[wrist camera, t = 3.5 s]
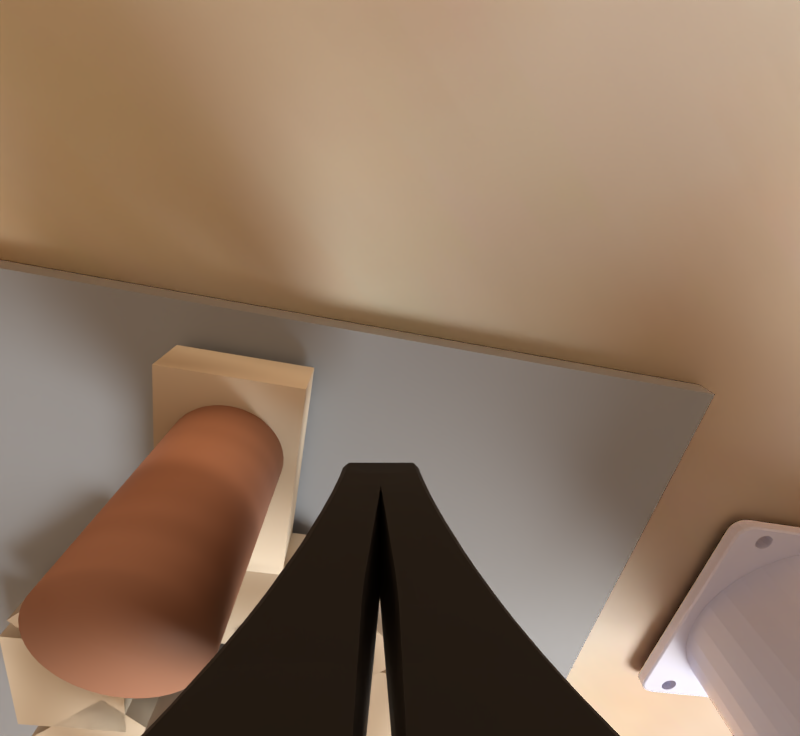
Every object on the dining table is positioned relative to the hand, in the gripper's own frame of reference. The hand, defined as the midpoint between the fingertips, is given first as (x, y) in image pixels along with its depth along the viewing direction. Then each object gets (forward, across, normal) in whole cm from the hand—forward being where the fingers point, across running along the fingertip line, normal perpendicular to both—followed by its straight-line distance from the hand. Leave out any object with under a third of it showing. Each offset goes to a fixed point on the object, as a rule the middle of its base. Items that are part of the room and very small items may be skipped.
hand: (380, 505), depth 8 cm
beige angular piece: (+3, +5, +6) cm, 8 cm away
